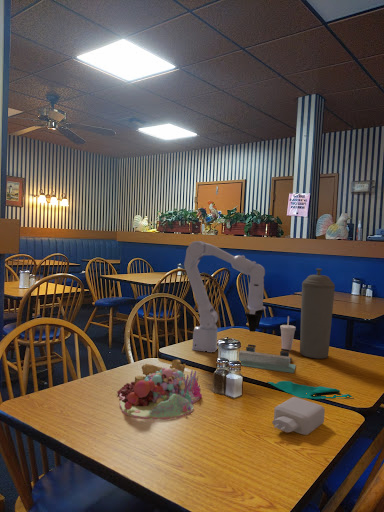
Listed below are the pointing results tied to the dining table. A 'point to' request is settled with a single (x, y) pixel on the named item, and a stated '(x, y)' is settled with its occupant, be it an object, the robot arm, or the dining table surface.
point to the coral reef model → (160, 393)
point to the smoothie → (287, 335)
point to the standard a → (251, 348)
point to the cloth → (305, 390)
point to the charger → (298, 416)
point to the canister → (316, 315)
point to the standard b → (285, 353)
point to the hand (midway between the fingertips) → (254, 329)
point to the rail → (264, 359)
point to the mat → (270, 367)
